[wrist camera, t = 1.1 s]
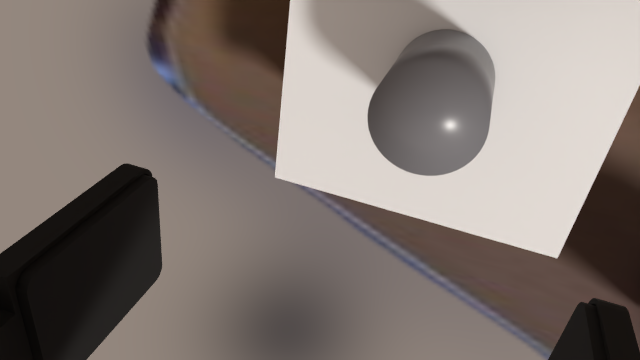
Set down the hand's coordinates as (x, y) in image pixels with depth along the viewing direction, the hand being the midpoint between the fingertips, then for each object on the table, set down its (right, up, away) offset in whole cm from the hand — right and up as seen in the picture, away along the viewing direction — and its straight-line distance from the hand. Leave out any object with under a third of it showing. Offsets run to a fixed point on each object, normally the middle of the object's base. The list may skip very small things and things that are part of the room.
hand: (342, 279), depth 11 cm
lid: (+5, +7, +12) cm, 15 cm away
